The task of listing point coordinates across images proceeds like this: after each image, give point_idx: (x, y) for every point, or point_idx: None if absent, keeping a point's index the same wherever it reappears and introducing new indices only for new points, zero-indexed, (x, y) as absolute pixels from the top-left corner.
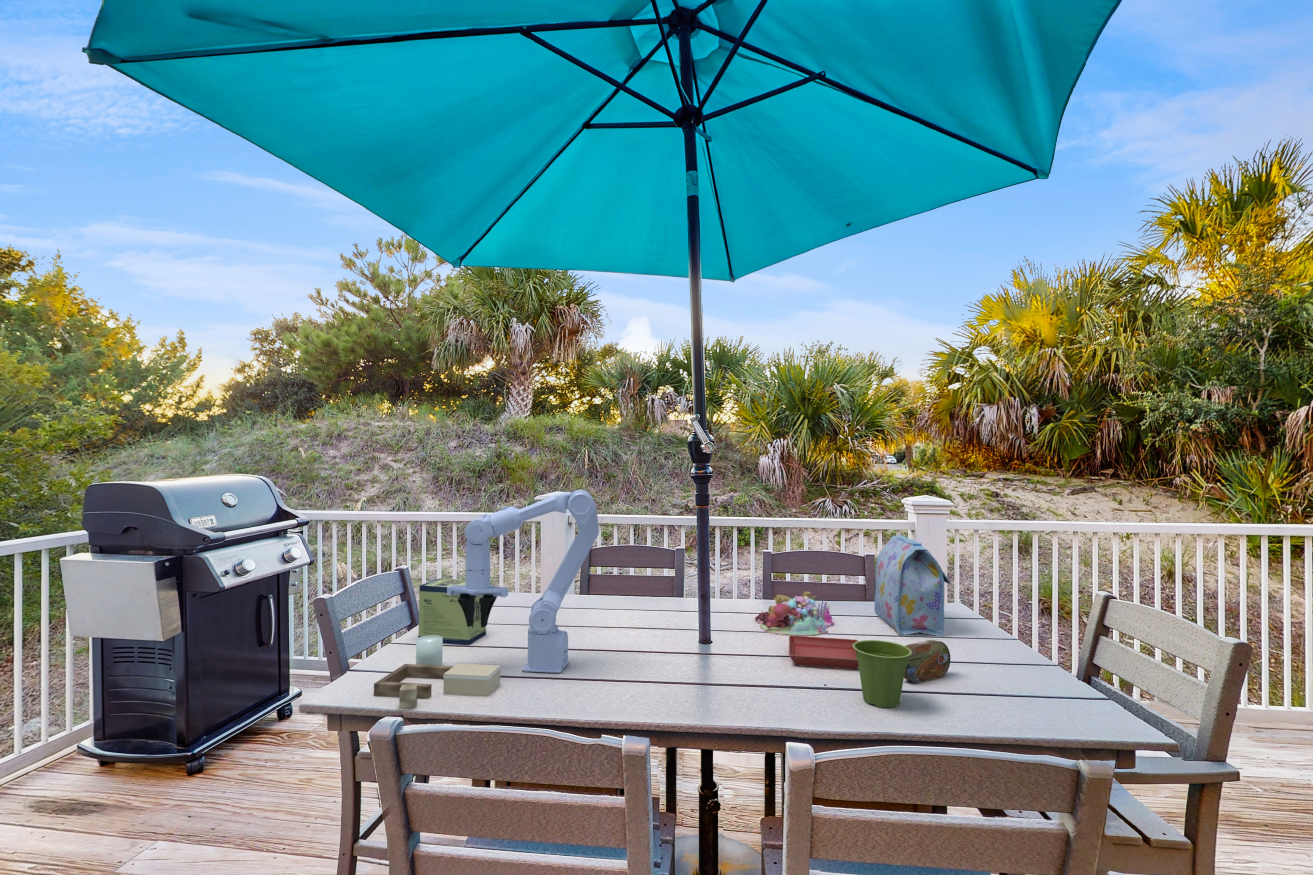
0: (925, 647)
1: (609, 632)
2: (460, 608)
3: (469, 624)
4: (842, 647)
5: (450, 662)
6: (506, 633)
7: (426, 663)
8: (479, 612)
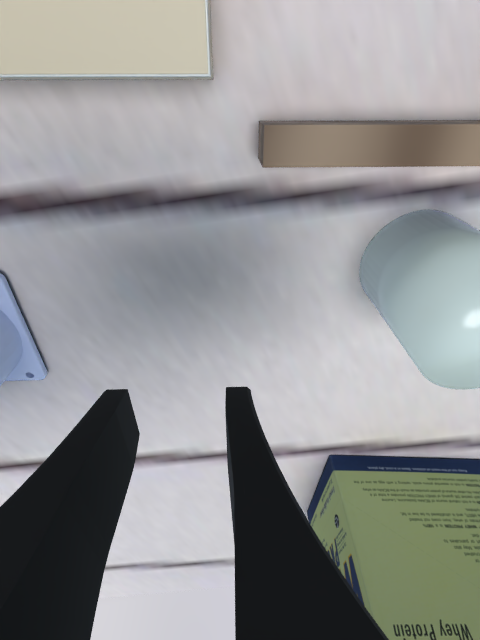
0: None
1: None
2: (405, 591)
3: (226, 397)
4: None
5: (340, 324)
6: None
7: (433, 223)
8: None
